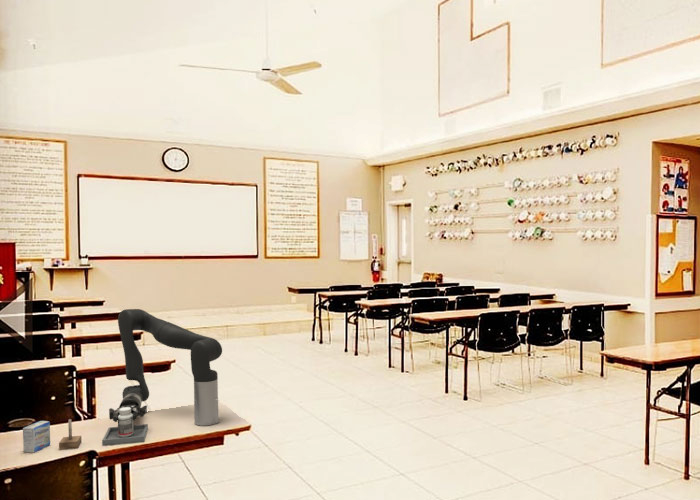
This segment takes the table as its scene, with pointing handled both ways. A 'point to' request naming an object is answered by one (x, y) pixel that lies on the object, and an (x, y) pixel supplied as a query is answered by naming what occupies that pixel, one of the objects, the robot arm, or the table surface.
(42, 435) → the medicine box
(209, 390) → the robot arm
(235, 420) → the table surface
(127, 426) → the pill bottle
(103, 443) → the tray
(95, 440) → the table surface
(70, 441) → the stand
